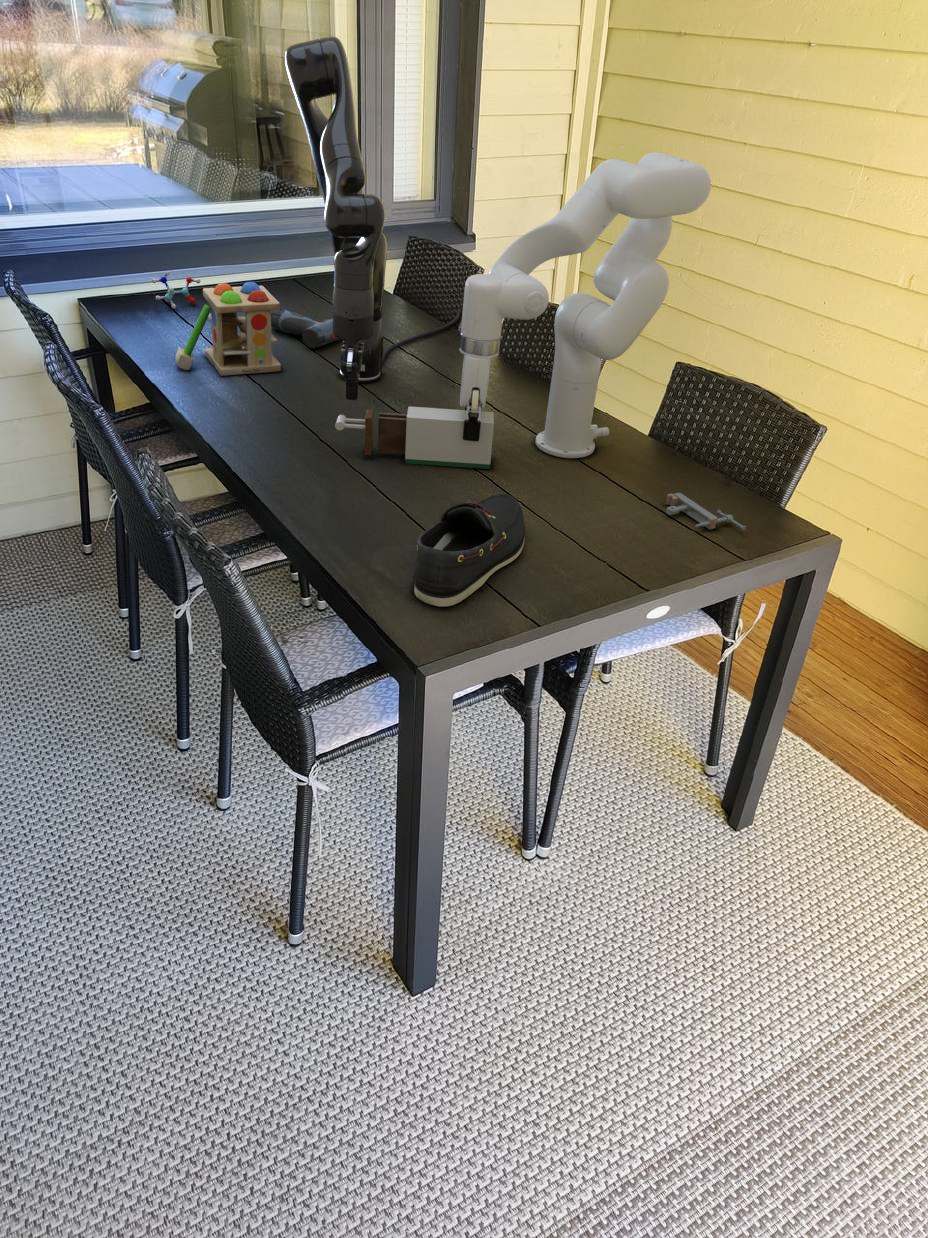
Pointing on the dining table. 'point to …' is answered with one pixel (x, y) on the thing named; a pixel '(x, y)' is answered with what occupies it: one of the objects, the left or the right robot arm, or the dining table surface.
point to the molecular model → (172, 292)
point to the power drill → (304, 327)
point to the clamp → (677, 506)
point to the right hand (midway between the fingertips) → (471, 432)
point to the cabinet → (446, 438)
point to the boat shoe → (467, 548)
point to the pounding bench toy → (229, 347)
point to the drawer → (380, 431)
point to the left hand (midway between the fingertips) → (351, 398)
